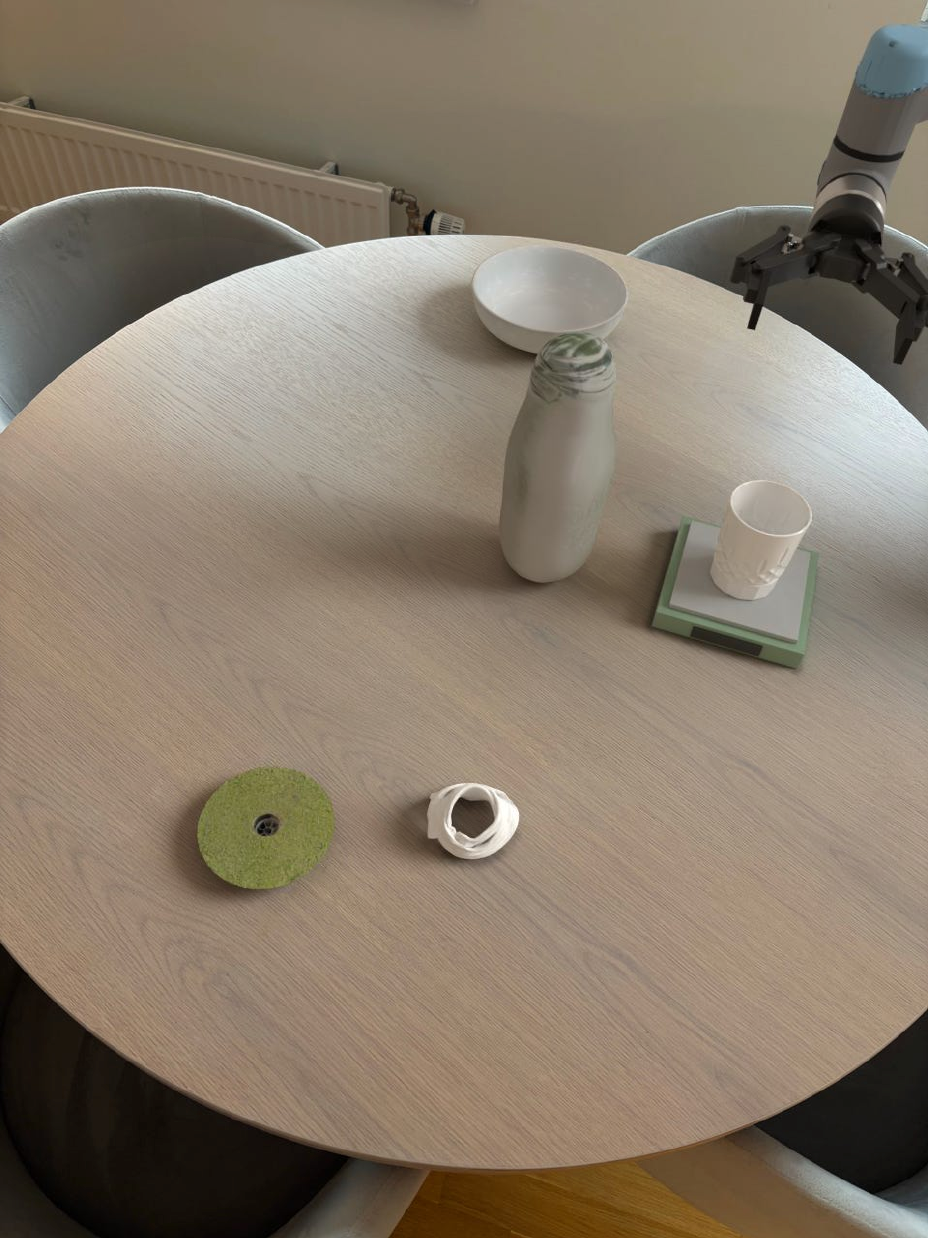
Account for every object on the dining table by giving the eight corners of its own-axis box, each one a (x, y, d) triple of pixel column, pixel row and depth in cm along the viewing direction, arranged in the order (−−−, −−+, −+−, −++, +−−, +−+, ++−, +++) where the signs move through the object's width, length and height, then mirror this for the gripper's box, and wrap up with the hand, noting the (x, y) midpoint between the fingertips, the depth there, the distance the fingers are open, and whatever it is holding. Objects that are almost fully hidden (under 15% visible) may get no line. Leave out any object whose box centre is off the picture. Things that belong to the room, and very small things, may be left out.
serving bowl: (460, 289, 136) (463, 244, 131) (602, 288, 139) (610, 243, 134) (477, 377, 123) (481, 331, 118) (634, 374, 126) (644, 329, 120)
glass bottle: (526, 519, 107) (559, 296, 85) (604, 560, 103) (660, 338, 82) (476, 570, 102) (498, 345, 80) (557, 615, 98) (603, 393, 77)
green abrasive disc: (347, 879, 78) (347, 869, 77) (209, 914, 76) (205, 904, 74) (321, 765, 85) (320, 753, 84) (193, 793, 83) (189, 782, 81)
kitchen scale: (811, 567, 105) (820, 548, 102) (796, 671, 95) (806, 653, 93) (678, 531, 107) (684, 511, 105) (650, 628, 98) (656, 609, 95)
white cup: (795, 586, 99) (829, 516, 91) (741, 616, 95) (772, 547, 88) (741, 539, 103) (769, 469, 95) (688, 567, 99) (712, 497, 92)
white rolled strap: (512, 796, 85) (520, 764, 82) (520, 863, 81) (530, 831, 77) (423, 795, 84) (428, 762, 81) (426, 863, 79) (432, 831, 76)
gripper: (950, 286, 102) (948, 400, 88) (720, 236, 106) (686, 337, 93) (984, 219, 96) (987, 330, 83) (739, 168, 100) (705, 266, 87)
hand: (828, 334), depth 88 cm, fingers open, 13 cm apart
